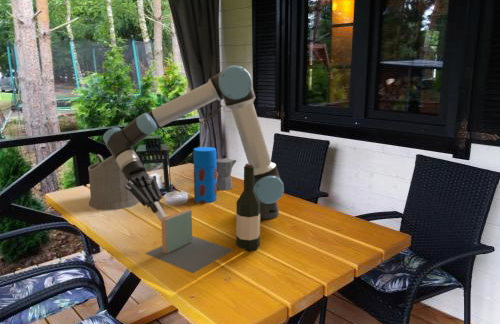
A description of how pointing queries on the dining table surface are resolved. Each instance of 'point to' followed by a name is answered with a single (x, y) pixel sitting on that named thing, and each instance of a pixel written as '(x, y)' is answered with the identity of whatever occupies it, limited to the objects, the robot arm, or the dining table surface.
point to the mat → (192, 254)
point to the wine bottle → (248, 214)
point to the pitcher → (109, 186)
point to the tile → (176, 230)
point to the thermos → (205, 174)
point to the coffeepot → (224, 173)
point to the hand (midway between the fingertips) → (163, 218)
